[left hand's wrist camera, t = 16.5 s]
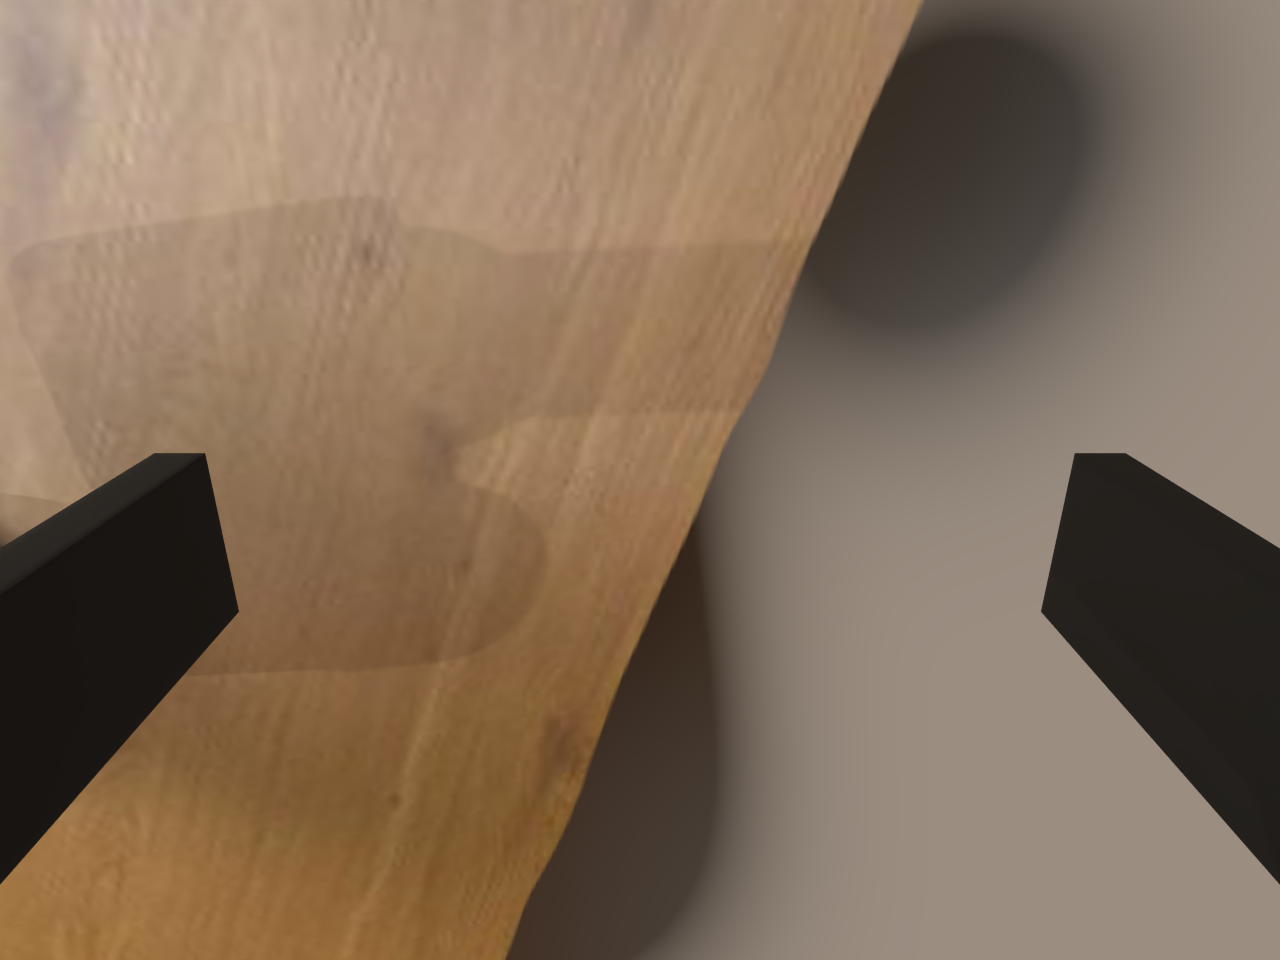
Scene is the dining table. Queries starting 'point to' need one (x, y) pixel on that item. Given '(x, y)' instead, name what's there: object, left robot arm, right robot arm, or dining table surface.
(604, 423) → the dining table surface
